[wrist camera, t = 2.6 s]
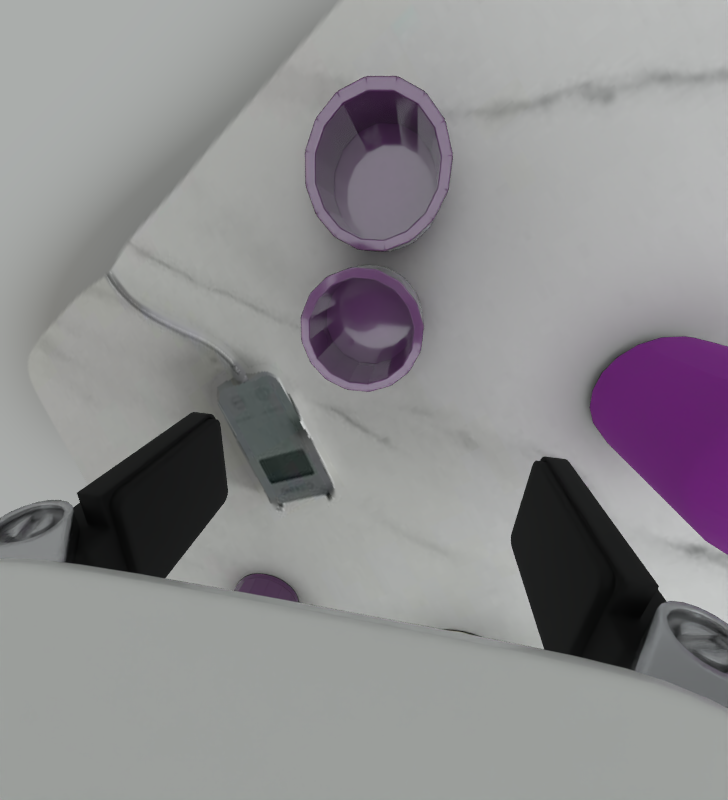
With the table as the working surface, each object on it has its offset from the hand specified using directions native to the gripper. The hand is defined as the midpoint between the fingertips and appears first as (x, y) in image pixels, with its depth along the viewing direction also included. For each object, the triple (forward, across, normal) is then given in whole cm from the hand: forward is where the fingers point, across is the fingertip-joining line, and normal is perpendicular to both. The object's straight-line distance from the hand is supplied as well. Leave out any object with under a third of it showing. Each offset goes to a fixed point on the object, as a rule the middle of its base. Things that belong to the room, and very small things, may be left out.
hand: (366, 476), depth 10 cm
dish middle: (+14, +2, -2) cm, 14 cm away
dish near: (+14, +2, -10) cm, 17 cm away
